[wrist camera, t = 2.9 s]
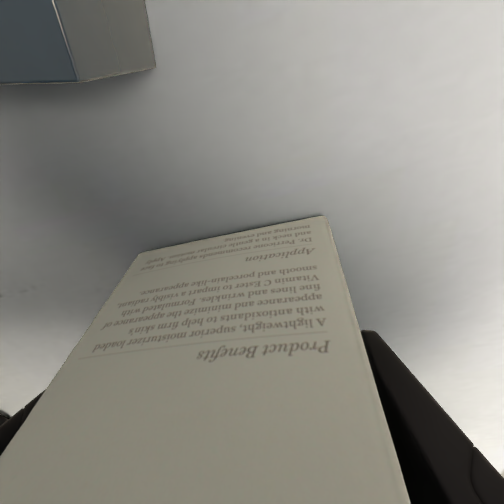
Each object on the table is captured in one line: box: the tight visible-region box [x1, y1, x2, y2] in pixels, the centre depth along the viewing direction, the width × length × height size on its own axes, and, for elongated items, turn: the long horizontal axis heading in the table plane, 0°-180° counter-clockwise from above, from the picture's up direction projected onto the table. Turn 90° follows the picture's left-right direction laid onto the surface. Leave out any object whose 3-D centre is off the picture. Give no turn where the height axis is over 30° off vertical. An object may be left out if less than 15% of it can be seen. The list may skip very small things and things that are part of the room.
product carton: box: [0, 216, 411, 504], centre depth 7 cm, size 6×6×7 cm
